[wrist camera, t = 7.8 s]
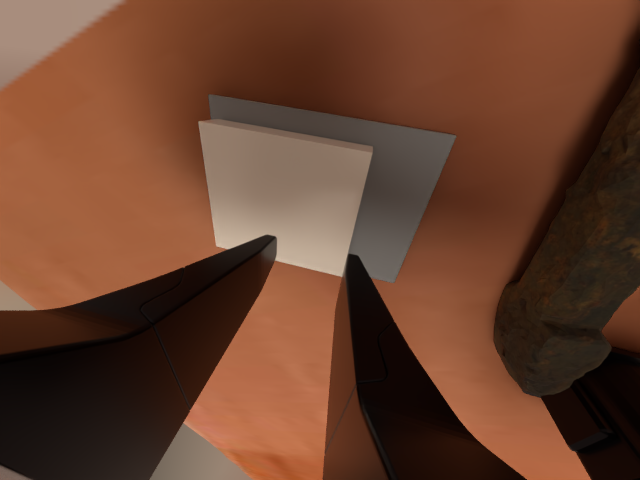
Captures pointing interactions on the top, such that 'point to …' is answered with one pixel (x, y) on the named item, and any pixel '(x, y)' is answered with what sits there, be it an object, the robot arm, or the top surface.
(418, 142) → the mat
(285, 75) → the top surface
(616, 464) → the robot arm
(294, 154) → the tile
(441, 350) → the top surface
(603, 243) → the hand tool
